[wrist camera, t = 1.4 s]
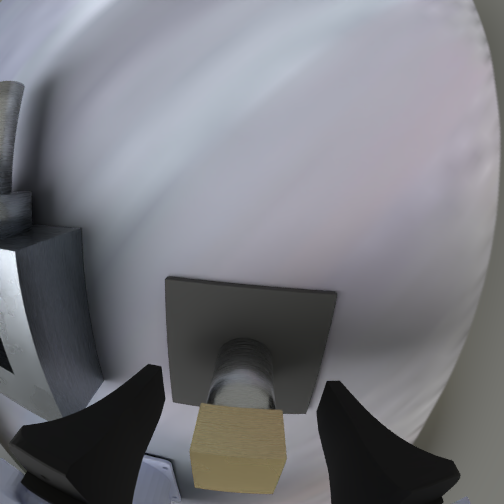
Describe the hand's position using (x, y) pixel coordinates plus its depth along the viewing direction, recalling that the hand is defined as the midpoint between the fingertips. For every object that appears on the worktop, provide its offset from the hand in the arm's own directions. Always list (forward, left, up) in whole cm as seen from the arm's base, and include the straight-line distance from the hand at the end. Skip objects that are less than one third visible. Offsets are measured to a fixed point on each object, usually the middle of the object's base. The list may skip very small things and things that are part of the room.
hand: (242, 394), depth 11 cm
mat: (0, 0, -3) cm, 3 cm away
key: (0, 0, -3) cm, 3 cm away
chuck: (+5, +14, -3) cm, 15 cm away
